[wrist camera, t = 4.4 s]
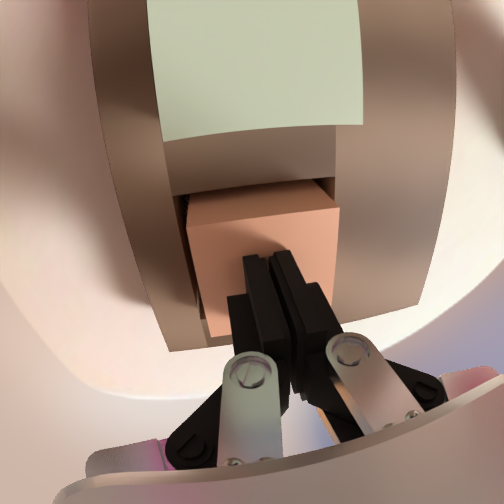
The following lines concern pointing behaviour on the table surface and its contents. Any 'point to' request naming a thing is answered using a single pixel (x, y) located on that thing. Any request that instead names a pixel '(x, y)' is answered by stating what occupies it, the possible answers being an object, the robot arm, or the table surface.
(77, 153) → the table surface
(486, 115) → the table surface
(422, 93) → the key panel
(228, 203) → the key terracotta
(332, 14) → the key sage
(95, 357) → the table surface
